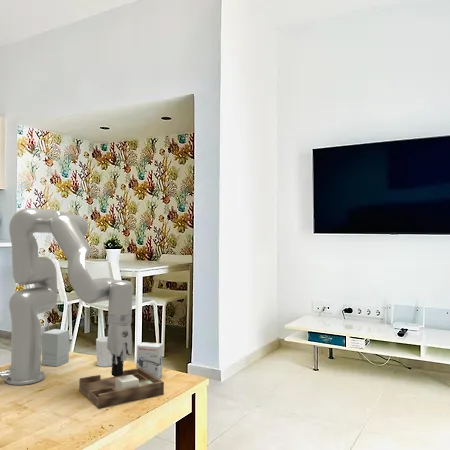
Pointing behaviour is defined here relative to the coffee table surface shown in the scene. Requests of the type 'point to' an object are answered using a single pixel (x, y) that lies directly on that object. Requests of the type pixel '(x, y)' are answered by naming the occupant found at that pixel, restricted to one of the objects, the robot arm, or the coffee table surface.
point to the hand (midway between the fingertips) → (117, 375)
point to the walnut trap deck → (108, 396)
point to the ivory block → (126, 382)
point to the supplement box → (55, 347)
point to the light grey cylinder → (103, 353)
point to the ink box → (150, 358)
